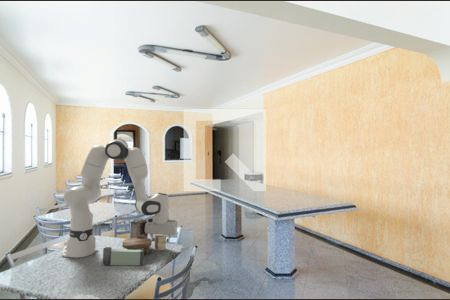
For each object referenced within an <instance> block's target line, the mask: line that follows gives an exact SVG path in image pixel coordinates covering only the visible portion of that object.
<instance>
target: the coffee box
mask: <svg viewBox="0 0 450 300" xmlns="http://www.w3.org/2000/svg"><path fill="white" fill-rule="evenodd" d="M146 220H147V219H142V218H141V219H138V220H137V219H136V220H132V221H130V229H129V230H130V231H129V232H130V233H129V238H136V237H143V238H149V237H148V234H146V233H145V224H146V223H147V221H146Z"/></svg>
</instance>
